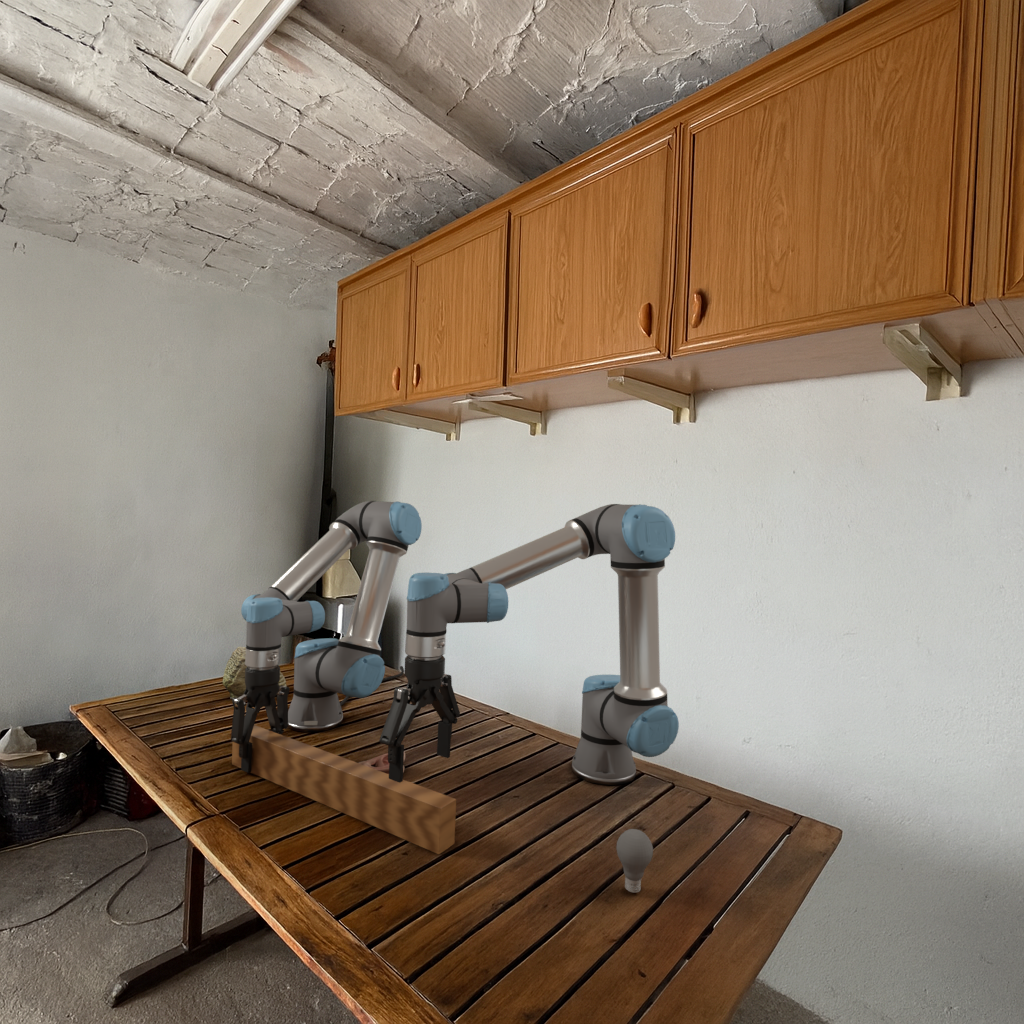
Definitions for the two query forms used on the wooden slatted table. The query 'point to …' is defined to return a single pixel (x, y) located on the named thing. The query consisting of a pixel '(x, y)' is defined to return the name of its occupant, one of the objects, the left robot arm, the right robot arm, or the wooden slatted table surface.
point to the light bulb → (634, 857)
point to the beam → (354, 789)
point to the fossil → (239, 674)
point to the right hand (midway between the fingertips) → (420, 767)
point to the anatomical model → (379, 763)
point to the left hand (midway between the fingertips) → (259, 765)
